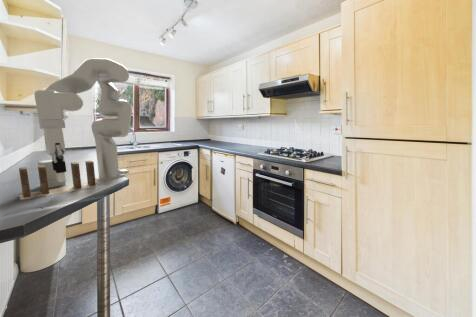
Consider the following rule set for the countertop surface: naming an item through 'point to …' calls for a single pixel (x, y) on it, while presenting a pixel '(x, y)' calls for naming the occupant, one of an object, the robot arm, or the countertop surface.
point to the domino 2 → (60, 174)
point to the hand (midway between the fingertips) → (59, 170)
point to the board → (56, 191)
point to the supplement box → (51, 174)
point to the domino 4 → (90, 173)
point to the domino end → (24, 182)
